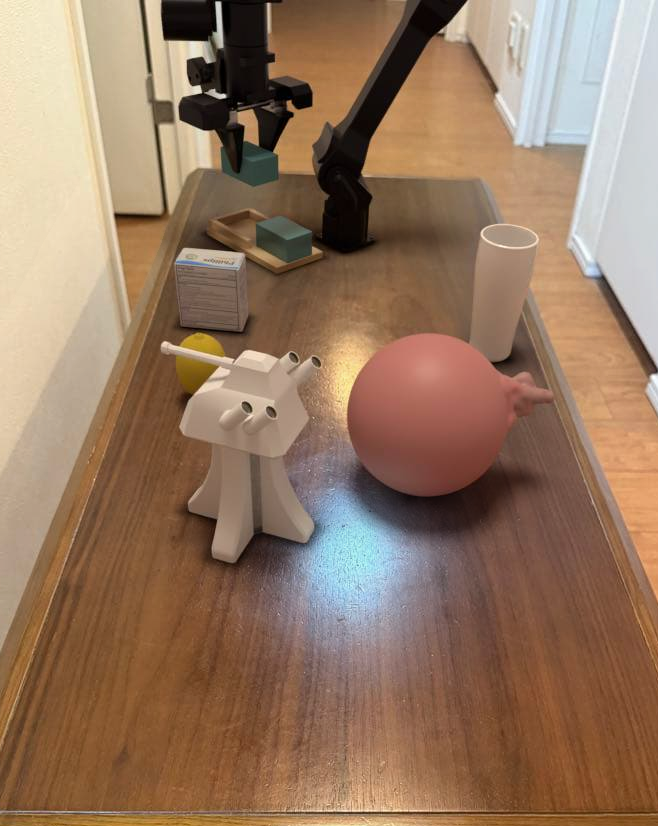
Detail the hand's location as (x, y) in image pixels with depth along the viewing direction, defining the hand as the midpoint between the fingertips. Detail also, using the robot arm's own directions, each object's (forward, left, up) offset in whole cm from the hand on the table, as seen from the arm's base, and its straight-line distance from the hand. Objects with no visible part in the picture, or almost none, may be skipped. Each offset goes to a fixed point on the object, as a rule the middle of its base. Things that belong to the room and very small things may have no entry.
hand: (250, 169), depth 116 cm
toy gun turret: (+39, +48, -11) cm, 62 cm away
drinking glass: (-3, +43, -11) cm, 44 cm away
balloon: (+20, +56, -11) cm, 60 cm away
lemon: (+30, +29, -11) cm, 43 cm away
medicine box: (+19, +16, -11) cm, 27 cm away
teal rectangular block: (0, 0, -1) cm, 1 cm away
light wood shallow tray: (0, +2, -11) cm, 11 cm away
